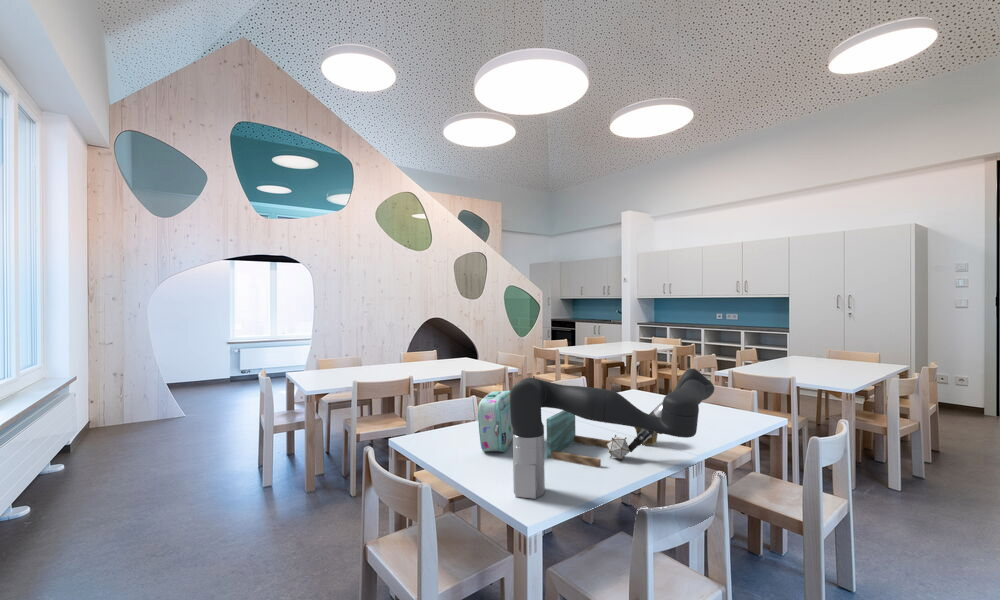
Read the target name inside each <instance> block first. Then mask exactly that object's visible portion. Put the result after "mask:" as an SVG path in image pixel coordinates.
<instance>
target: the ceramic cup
mask: <svg viewBox="0 0 1000 600" xmlns="http://www.w3.org/2000/svg"><path fill="white" fill-rule="evenodd" d="M633 428H634V429H635V432H636V435H637V434H638V433H639V432H640V431H641V428H637V427H633ZM657 440H658V433H657V432H655V434H654V435H653V436H652V437H651V438H649V439H647V440H646V441H645V442H644V443H643V442H642V445H641V446H644V445H645V446H644V447H653V445H654V446H656V445H657Z"/></svg>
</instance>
